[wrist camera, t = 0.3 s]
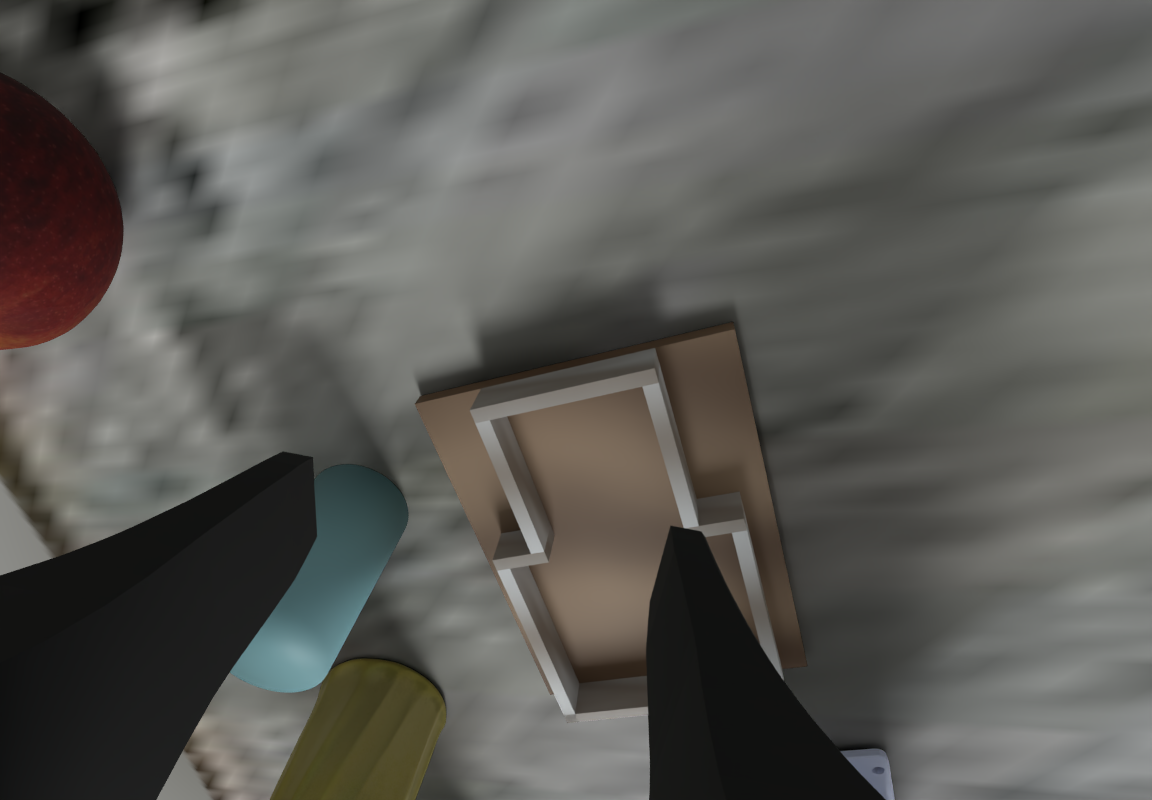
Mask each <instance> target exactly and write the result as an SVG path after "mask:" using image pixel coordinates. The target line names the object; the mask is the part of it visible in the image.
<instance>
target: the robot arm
mask: <svg viewBox="0 0 1152 800" xmlns="http://www.w3.org/2000/svg"><path fill="white" fill-rule="evenodd" d="M316 538H317V523H316V506H315V489H314V471H313V457H309V456H303V455H298V454H293V453H288V452H281V453H279V454H277V455H275V456H273V457H271V458H269V459H267V460H265V461H263V462H261V463H259V464H257V465H255V466H253V467H251V468H250V469H248V470H246V471H244V472H242V473H240V474H238V475H236V476H235V477H233V478H231V479H229V480H227V481H225V482H223V483H221V484H219V485H217V486H216V487H214V488H212V489H210V490H208V491H206V492H204V493H202V494H200V495H198V496H196V497H194V498H192V499H190V500H189V501H187V502H185V503H182V504H180V505H178V506H176V507H174V508H172V509H170V510H168V511H165V512H163V513H161V514H159V515H157V516H155V517H153V518H151V519H149V520H146V521H144V522H142V523H140V524H138V525H136V526H134V527H132V528H129V529H127V530H125V531H122V532H120V533H118V534H115V535H113V536H110V537H108V538H106V539H103V540H101V541H98V542H96V543H93V544H90V545H88V546H85V547H83V548H80V549H77V550H75V551H72V552H70V553H67V554H64V555H61V556H59V557H56V558H53V559H50V560H47V561H44V562H41V563H38V564H34V565H31V566H28V567H25V568H22V569H20V570H16V571H13V572H10V573H7V574H4V575H1V576H0V800H156V799H157V797H158V796H159V793H160V792H161V790H162V788H163V786H164V784H165V783H166V781H167V779H168V777H169V775H170V773H171V771H172V770H173V768H174V766H175V764H176V762H177V760H178V758H179V757H180V755H181V753H182V751H183V749H184V747H185V746H186V744H187V742H188V740H189V739H190V737H191V735H192V733H193V732H194V730H195V728H196V726H197V725H198V723H199V721H200V719H201V718H202V716H203V714H204V712H205V711H206V709H207V707H208V705H209V704H210V702H211V700H212V698H213V697H214V695H215V694H216V692H217V691H218V689H219V687H220V686H221V684H222V683H223V681H224V680H225V678H226V677H227V675H228V674H229V672H230V671H231V670H232V668H233V667H234V665H235V664H236V662H237V661H238V660H239V658H240V657H241V655H242V654H243V653H244V651H245V650H246V648H247V647H248V646H249V644H250V643H251V641H252V640H253V639H254V637H255V636H256V634H257V633H258V632H259V630H260V629H261V627H262V626H263V625H264V623H265V622H266V620H267V619H268V618H269V616H270V615H271V613H272V612H273V610H274V609H275V608H276V606H277V605H278V603H279V602H280V600H281V599H282V598H283V596H284V595H285V593H286V592H287V590H288V589H289V587H290V586H291V585H292V583H293V582H294V580H295V578H296V576H297V575H298V573H299V571H300V569H301V567H302V565H303V564H304V562H305V560H306V558H307V556H308V554H309V552H310V550H311V548H312V546H313V544H314V542H315V540H316ZM646 667H647V695H648V721H649V747H650V795H649V800H895V797H894V791H893V784H892V778H891V772H890V765H889V760H888V757H887V754H886V752H884V751H883V750H881V749H874V748H873V749H861V750H848V751H839V749H838V748H837V747H836V746H835V745H834V744H833V743H832V741H831V740H830V739H829V738H828V737H827V736H826V734H825V733H824V732H823V731H822V730H821V729H820V727H819V726H818V725H817V724H816V723H815V722H814V720H813V719H812V718H811V717H810V715H809V714H808V713H807V712H806V710H805V709H804V708H803V706H802V705H801V704H800V703H799V701H798V700H797V698H796V697H795V696H794V694H793V693H792V692H791V690H790V689H789V687H788V686H787V685H786V683H785V682H784V680H783V679H782V678H781V676H780V675H779V673H778V672H777V670H776V669H775V667H774V666H773V664H772V663H771V661H770V660H769V658H768V656H767V655H766V653H765V652H764V650H763V648H762V647H761V645H760V644H759V642H758V640H757V639H756V637H755V635H754V634H753V632H752V630H751V629H750V627H749V625H748V623H747V622H746V620H745V618H744V616H743V614H742V612H741V611H740V609H739V607H738V605H737V603H736V601H735V599H734V598H733V596H732V594H731V592H730V590H729V588H728V586H727V584H726V582H725V580H724V578H723V576H722V573H721V571H720V569H719V567H718V565H717V563H716V561H715V558H714V556H713V554H712V551H711V549H710V547H709V544H708V542H707V540H706V537H705V536H704V534H703V533H702V531H697V530H692V529H687V528H681V527H676V526H671V525H670V529H669V533H668V536H667V540H666V544H665V547H664V551H663V555H662V558H661V562H660V566H659V569H658V573H657V577H656V580H655V584H654V587H653V591H652V595H651V598H650V604H649V616H648V628H647V642H646Z"/></svg>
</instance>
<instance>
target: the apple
mask: <svg viewBox="0 0 1152 800" xmlns="http://www.w3.org/2000/svg"><path fill="white" fill-rule="evenodd" d="M122 245H123V219H122V212H121V206H120V202H119V199H118V195H117V192H116V189H115V187H114V185H113V182H112V180H111V178H110V176H109V174H108V172H107V170H106V168H105V166H104V164H103V162H102V161H101V159H100V157H99V156H98V154H97V152H96V151H95V150H94V148H93V147H92V146H91V144H90V143H89V142H88V141H87V140H86V138H85V137H84V136H83V135H82V133H81V132H80V131H79V130H78V129H77V128H76V127H75V126H74V125H73V124H72V123H71V122H70V121H69V120H68V119H67V118H66V117H65V116H64V115H63V114H62V113H61V112H60V111H59V110H57V109H56V108H55V107H54V106H52V105H51V104H50V103H49V102H48V101H46V100H45V99H44V98H43V97H41V96H40V95H38V94H37V93H35V92H34V91H32V90H31V89H29V88H28V87H26V86H24V85H23V84H21V83H19V82H18V81H16V80H14V79H12V78H10V77H8V76H6V75H4V74H2V73H0V350H4V349H14V348H23V347H30V346H34V345H38V344H41V343H44V342H47V341H50V340H52V339H54V338H56V337H58V336H61V335H63V334H65V333H66V332H68V331H70V330H71V329H72V328H74V327H75V326H76V325H78V324H79V323H80V322H81V321H82V320H83V319H84V318H85V317H86V316H87V315H88V314H89V313H90V312H91V311H92V310H93V309H94V308H95V307H96V306H97V305H98V303H99V302H100V301H101V299H102V297H103V296H104V294H105V293H106V291H107V289H108V288H109V286H110V284H111V282H112V280H113V278H114V275H115V273H116V270H117V268H118V264H119V261H120V257H121V252H122Z"/></svg>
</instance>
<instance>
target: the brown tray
mask: <svg viewBox="0 0 1152 800" xmlns="http://www.w3.org/2000/svg"><path fill="white" fill-rule="evenodd" d="M415 405H416V408H417V410H418V412H419V414H420V416H421V418H422V420H423V423H424V425H425V427H426V429H427V431H428V433H429V435H430V438H431V440H432V442H433V444H434V446H435V448H436V450H437V453H438V455H439V457H440V459H441V461H442V463H443V465H444V468H445V470H446V472H447V474H448V476H449V478H450V480H451V483H452V485H453V487H454V489H455V491H456V493H457V495H458V498H459V500H460V502H461V504H462V506H463V508H464V511H465V513H466V515H467V517H468V519H469V521H470V523H471V526H472V528H473V530H474V532H475V534H476V536H477V538H478V541H479V543H480V545H481V547H482V549H483V551H484V553H485V556H486V558H487V560H488V562H489V564H490V566H491V568H492V571H493V573H494V575H495V577H496V579H497V581H498V583H499V586H500V588H501V590H502V592H503V594H504V596H505V598H506V601H507V603H508V605H509V607H510V609H511V611H512V613H513V616H514V618H515V620H516V622H517V624H518V626H519V628H520V631H521V633H522V635H523V637H524V639H525V641H526V643H527V646H528V648H529V650H530V652H531V654H532V656H533V658H534V661H535V663H536V665H537V667H538V669H539V671H540V674H541V676H542V678H543V680H544V682H545V684H546V686H547V689H548V691H549V693H550V695H552V694H554V695H555V697H556V699H557V701H558V704H559V706H560V708H561V710H562V712H563V714H564V717H565V719H566V721H567V723H574V722H584V721H594V720H604V719H614V718H624V717H634V716H644V715H648V695H647V667H646V642H647V628H648V616H649V604H650V598H651V595H652V591H653V587H654V584H655V580H656V577H657V573H658V569H659V566H660V562H661V558H662V555H663V551H664V547H665V544H666V540H667V536H668V533H669V529H670V525H671V526H676V527H681V528H687V529H692V530H697V531H702V533H703V534H704V536H705V537H706V540H707V542H708V544H709V547H710V549H711V551H712V554H713V556H714V558H715V561H716V563H717V565H718V567H719V569H720V571H721V573H722V576H723V578H724V580H725V582H726V584H727V586H728V588H729V590H730V592H731V594H732V596H733V598H734V599H735V601H736V603H737V605H738V607H739V609H740V611H741V612H742V614H743V616H744V618H745V620H746V622H747V623H748V625H749V627H750V629H751V630H752V632H753V634H754V635H755V637H756V639H757V640H758V642H759V644H760V645H761V647H762V648H763V650H764V652H765V653H766V655H767V656H768V658H769V660H770V661H771V663H772V664H773V666H774V667H775V669H776V670H777V672H778V673H779V675H780V676H781V678H782V679H783V680H784V676H783V671H782V669H787V668H796V667H805V666H807V661H806V656H805V652H804V647H803V642H802V638H801V633H800V629H799V624H798V619H797V615H796V610H795V605H794V601H793V596H792V591H791V587H790V582H789V578H788V573H787V568H786V564H785V559H784V554H783V550H782V545H781V540H780V536H779V531H778V527H777V522H776V517H775V513H774V508H773V503H772V499H771V494H770V490H769V485H768V480H767V476H766V471H765V466H764V462H763V457H762V452H761V448H760V443H759V439H758V434H757V429H756V425H755V420H754V415H753V411H752V406H751V401H750V397H749V392H748V388H747V383H746V378H745V374H744V369H743V364H742V360H741V355H740V351H739V346H738V341H737V337H736V332H735V328H734V324H733V322H731V323H727V324H722V325H718V326H714V327H710V328H706V329H701V330H697V331H693V332H689V333H684V334H680V335H676V336H672V337H668V338H663V339H659V340H655V341H651V342H646V343H642V344H638V345H634V346H630V347H625V348H621V349H617V350H613V351H608V352H604V353H600V354H596V355H592V356H587V357H583V358H579V359H575V360H570V361H566V362H562V363H558V364H554V365H549V366H545V367H541V368H537V369H533V370H528V371H524V372H520V373H516V374H511V375H507V376H503V377H499V378H495V379H490V380H486V381H482V382H478V383H473V384H469V385H465V386H461V387H457V388H452V389H448V390H444V391H440V392H435V393H431V394H427V395H423V396H420V397H419V399H418V400H417V402H416V403H415ZM784 682H785V681H784Z"/></svg>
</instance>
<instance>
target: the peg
mask: <svg viewBox="0 0 1152 800" xmlns="http://www.w3.org/2000/svg"><path fill="white" fill-rule="evenodd" d="M314 489H315V506H316V523H317V538H316V540H315V542H314V544H313V546H312V548H311V550H310V552H309V554H308V556H307V558H306V560H305V562H304V564H303V565H302V567H301V569H300V571H299V573H298V575H297V576H296V578H295V580H294V582H293V583H292V585H291V586H290V587H289V589H288V590H287V592H286V593H285V595H284V596H283V598H282V599H281V600H280V602H279V603H278V605H277V606H276V608H275V609H274V610H273V612H272V613H271V615H270V616H269V618H268V619H267V620H266V622H265V623H264V625H263V626H262V627H261V629H260V630H259V632H258V633H257V634H256V636H255V637H254V639H253V640H252V641H251V643H250V644H249V646H248V647H247V648H246V650H245V651H244V653H243V654H242V655H241V657H240V658H239V660H238V661H237V662H236V664H235V665H234V667H233V668H232V670H231V671H230V673H231V674H233V675H234V676H236V677H238V678H239V679H241V680H243V681H245V682H247V683H249V684H251V685H254V686H257V687H259V688H263V689H266V690H271V691H276V692H300V691H305V690H308V689H311V688H313V687H315V686H317V685H318V684H320V683H321V682H322V681H323V680H324V679H325V677H326V675H327V674H328V672H329V670H330V668H331V666H332V665H333V663H334V661H335V659H336V657H337V655H338V653H339V651H340V650H341V648H342V646H343V644H344V642H345V640H346V638H347V636H348V635H349V633H350V631H351V629H352V627H353V625H354V623H355V622H356V620H357V618H358V616H359V614H360V612H361V610H362V608H363V607H364V605H365V603H366V601H367V599H368V597H369V595H370V594H371V592H372V590H373V588H374V586H375V584H376V582H377V580H378V579H379V577H380V575H381V573H382V571H383V569H384V567H385V566H386V564H387V562H388V560H389V558H390V556H391V554H392V552H393V551H394V549H395V547H396V545H397V543H398V541H399V539H400V538H401V536H402V534H403V532H404V530H405V528H406V526H407V522H408V508H407V504H406V501H405V499H404V497H403V495H402V494H401V492H400V491H399V489H398V488H397V487H396V486H395V485H394V484H393V483H392V482H391V481H390V480H389V479H387V478H386V477H385V476H383V475H382V474H380V473H378V472H376V471H374V470H372V469H369V468H366V467H363V466H359V465H351V464H343V465H336V466H333V467H330V468H328V469H325V470H324V471H322V472H321V473H320V474H319V475H318V476H317V477H316V478H315V479H314Z"/></svg>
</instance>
